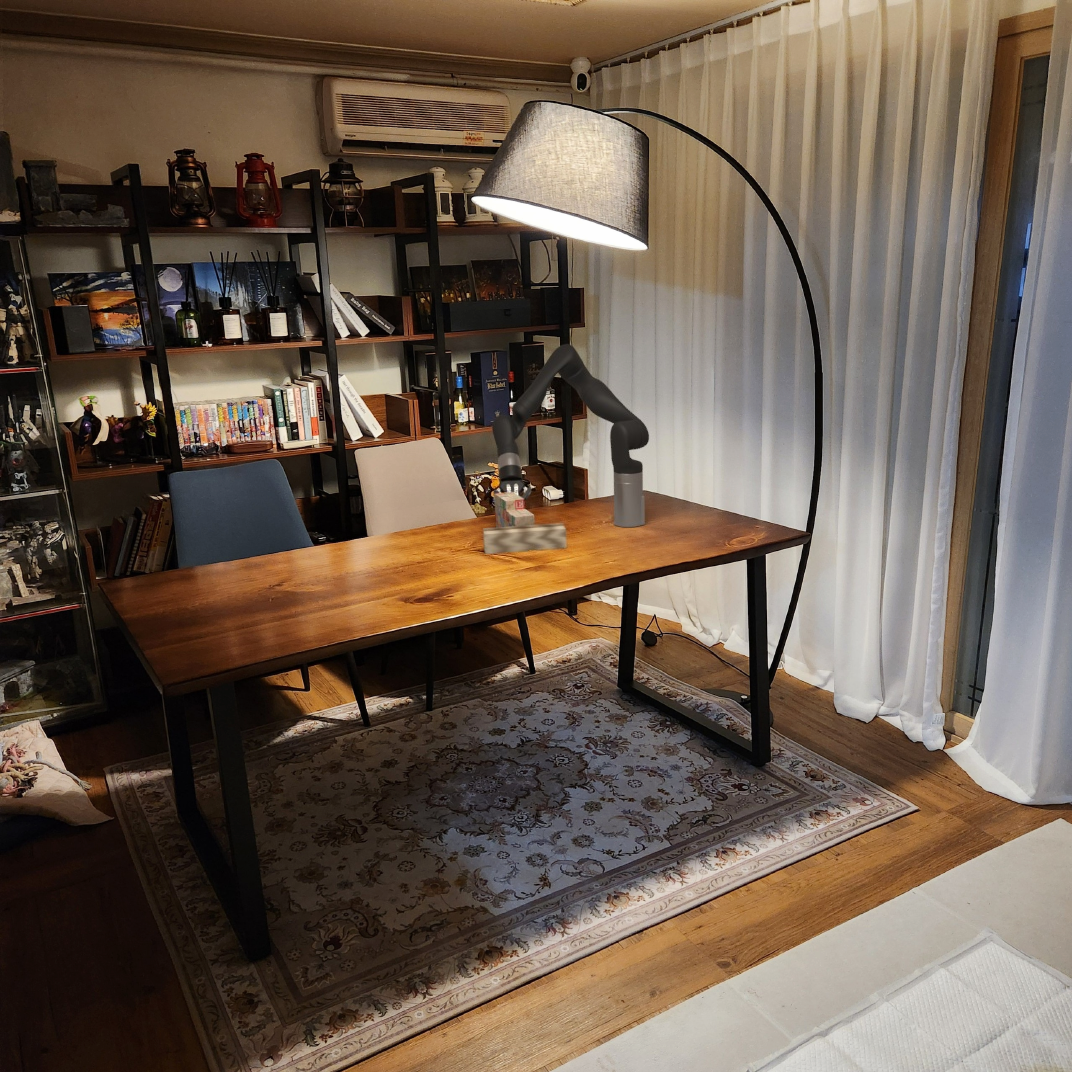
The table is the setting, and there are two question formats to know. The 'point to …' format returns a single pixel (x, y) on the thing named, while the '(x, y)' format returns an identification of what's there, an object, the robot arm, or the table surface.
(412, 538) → the table surface
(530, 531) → the grey zigzag-patterned beam
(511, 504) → the stack of blocks
